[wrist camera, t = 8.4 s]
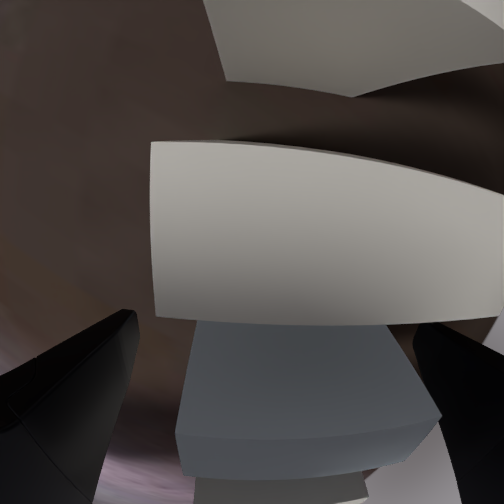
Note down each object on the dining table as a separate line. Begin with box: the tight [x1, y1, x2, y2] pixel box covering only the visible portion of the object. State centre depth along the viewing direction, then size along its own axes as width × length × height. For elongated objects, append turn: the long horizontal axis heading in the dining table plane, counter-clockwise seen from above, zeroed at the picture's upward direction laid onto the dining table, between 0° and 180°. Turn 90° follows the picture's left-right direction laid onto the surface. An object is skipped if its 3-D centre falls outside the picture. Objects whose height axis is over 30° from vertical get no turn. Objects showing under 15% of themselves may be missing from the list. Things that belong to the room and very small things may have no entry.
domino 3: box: [175, 320, 442, 480], centre depth 9 cm, size 2×5×9 cm, turn 84°
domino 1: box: [203, 0, 504, 97], centre depth 6 cm, size 2×5×9 cm, turn 86°
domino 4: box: [194, 471, 369, 504], centre depth 10 cm, size 2×5×9 cm, turn 86°
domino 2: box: [150, 140, 504, 326], centre depth 7 cm, size 2×5×9 cm, turn 85°
